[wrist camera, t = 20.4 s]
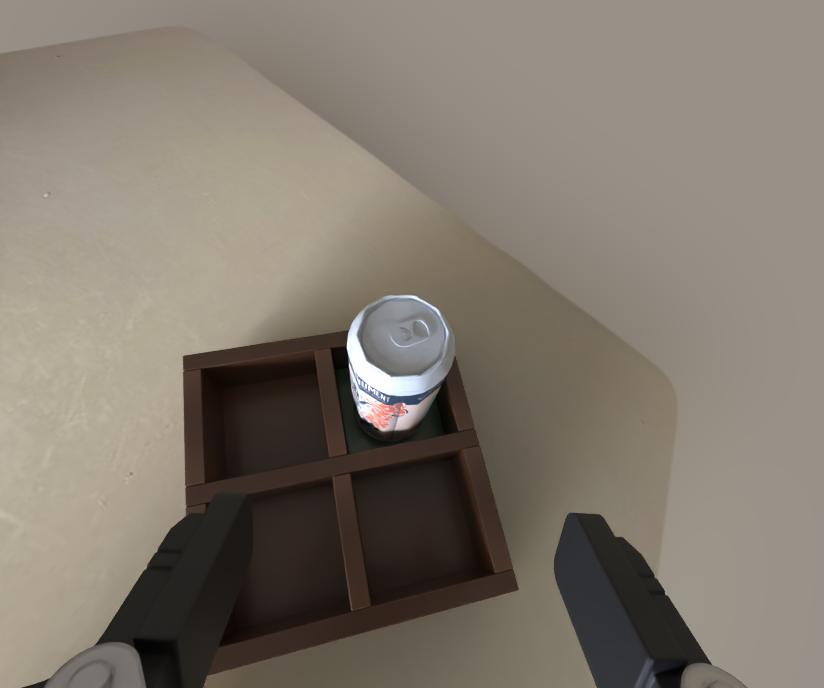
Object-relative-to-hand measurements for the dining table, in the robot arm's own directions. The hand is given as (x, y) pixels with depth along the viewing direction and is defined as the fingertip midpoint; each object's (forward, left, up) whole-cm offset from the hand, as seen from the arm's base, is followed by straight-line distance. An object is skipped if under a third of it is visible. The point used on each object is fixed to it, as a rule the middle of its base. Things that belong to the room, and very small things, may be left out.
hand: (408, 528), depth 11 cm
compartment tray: (+4, +2, -17) cm, 18 cm away
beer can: (+7, -2, -17) cm, 18 cm away
